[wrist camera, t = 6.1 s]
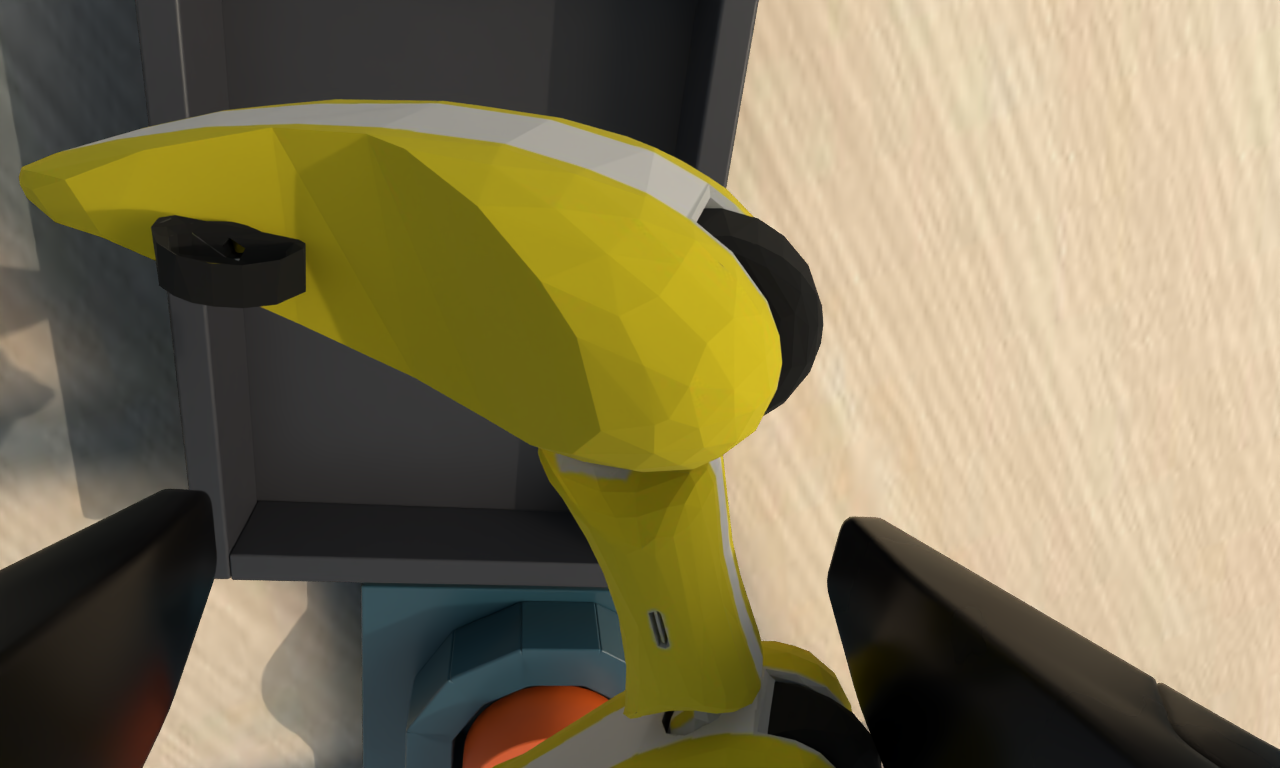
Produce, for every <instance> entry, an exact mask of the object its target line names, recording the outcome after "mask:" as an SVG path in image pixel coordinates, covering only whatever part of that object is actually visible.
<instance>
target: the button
mask: <svg viewBox="0 0 1280 768" xmlns="http://www.w3.org/2000/svg"><path fill="white" fill-rule="evenodd" d="M607 701H608V699H607V698H606V697H604V696H602V695H600V694H598V693H596V692H594V691H591V690H589V689H585V688H582V687H578V686H533V687H529V688H525V689H521V690H518V691H516V692H513V693H511V694H509V695H506V696H504V697H502V698H500V699H499V700H497V701H496V702H494V703H492V704H491V705H490V706H489V707H487V708H486V709H485V710H484V711H483V712H482V713H481V714H480V715H479V716H478V717H477V719H476V720H475V721H474V723H473V724H472V726H471V728H470V729H469V731H468V733H467V736H466V739H465V744H464V753H463V766H462V768H492V767H494V766H495V765H498V764H500V763H502V762H505V761H507V760H510V759H512V758H514V757H517V756H519V755H522V754H524V753H526V752H527V751H529V750H530V749H532V748H534V747H535V746H537V745H538V744H540V743H541V742H543V741H545V740H546V739H548V738H549V737H551V736H553V735H554V734H556V733H557V732H559V731H561V730H562V729H564V728H565V727H567V726H568V725H570V724H572V723H573V722H575V721H576V720H578V719H580V718H581V717H583V716H584V715H586V714H587V713H589V712H591V711H592V710H594V709H595V708H597V707H599V706H600V705H602V704H603V703H605V702H607Z"/></svg>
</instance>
